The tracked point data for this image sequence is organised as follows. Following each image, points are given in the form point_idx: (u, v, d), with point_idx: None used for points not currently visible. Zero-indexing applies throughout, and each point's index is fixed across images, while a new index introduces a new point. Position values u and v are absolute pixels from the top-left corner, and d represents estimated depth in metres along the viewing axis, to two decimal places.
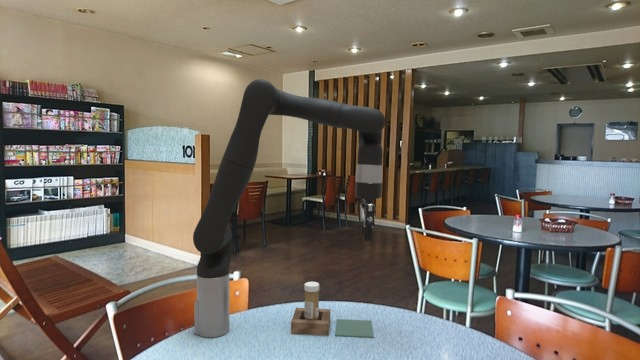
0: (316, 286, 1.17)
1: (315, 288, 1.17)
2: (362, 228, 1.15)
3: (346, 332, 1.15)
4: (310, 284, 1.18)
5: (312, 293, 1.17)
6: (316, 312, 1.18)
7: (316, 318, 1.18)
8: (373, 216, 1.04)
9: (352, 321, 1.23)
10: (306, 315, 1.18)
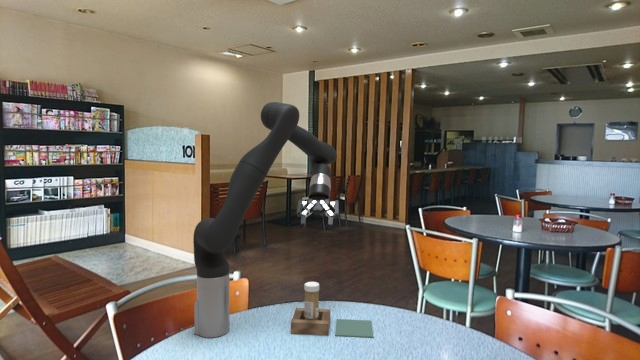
0: (316, 286, 1.17)
1: (315, 288, 1.17)
2: (305, 220, 1.31)
3: (346, 332, 1.15)
4: (310, 284, 1.18)
5: (312, 293, 1.17)
6: (316, 312, 1.18)
7: (316, 318, 1.18)
8: (338, 211, 1.35)
9: (352, 321, 1.23)
10: (306, 315, 1.18)
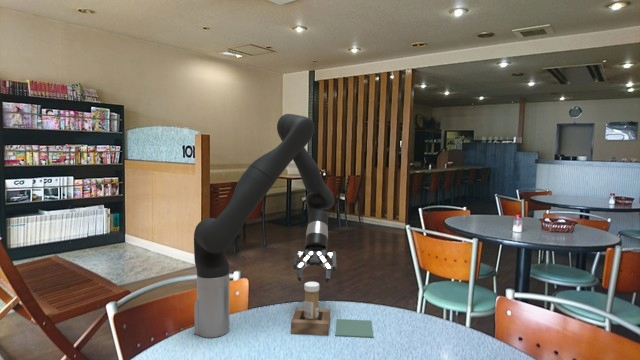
0: (316, 286, 1.17)
1: (315, 288, 1.17)
2: (301, 273, 1.25)
3: (346, 332, 1.15)
4: (310, 284, 1.18)
5: (312, 293, 1.17)
6: (316, 312, 1.18)
7: (316, 318, 1.18)
8: None
9: (352, 321, 1.23)
10: (306, 315, 1.18)
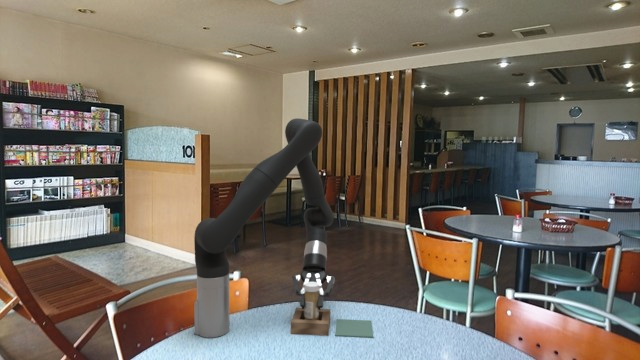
0: (316, 286, 1.17)
1: (315, 288, 1.17)
2: (304, 300, 1.18)
3: (346, 332, 1.15)
4: (310, 284, 1.18)
5: (312, 293, 1.17)
6: (316, 312, 1.18)
7: (316, 318, 1.18)
8: (331, 289, 1.22)
9: (352, 321, 1.23)
10: (306, 315, 1.18)
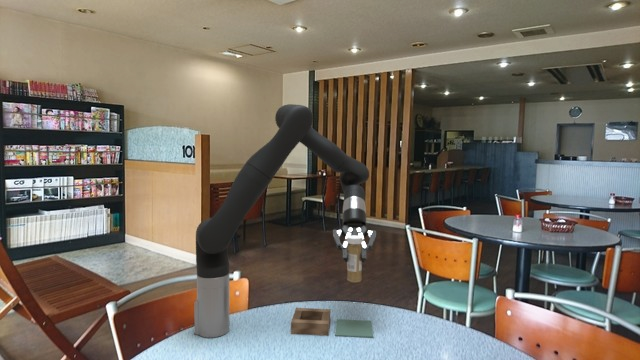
0: (359, 238, 1.16)
1: (359, 240, 1.15)
2: None
3: (346, 332, 1.15)
4: (353, 237, 1.16)
5: (356, 245, 1.15)
6: (359, 265, 1.16)
7: (359, 271, 1.16)
8: (373, 243, 1.20)
9: (352, 321, 1.23)
10: (349, 268, 1.16)
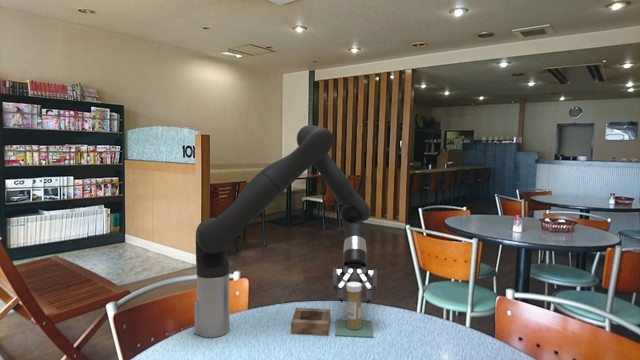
0: (359, 286, 1.16)
1: (358, 288, 1.16)
2: (342, 294, 1.17)
3: (346, 332, 1.15)
4: (352, 284, 1.17)
5: (355, 293, 1.16)
6: (359, 312, 1.17)
7: (359, 318, 1.17)
8: None
9: None
10: (349, 315, 1.17)
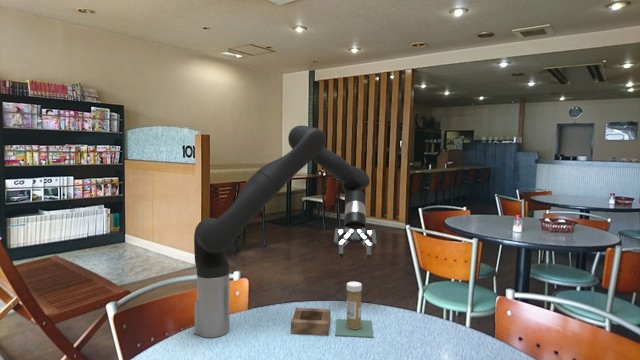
0: (359, 286, 1.16)
1: (358, 288, 1.16)
2: None
3: (346, 332, 1.15)
4: (353, 284, 1.17)
5: (355, 293, 1.16)
6: (359, 312, 1.17)
7: (359, 318, 1.17)
8: None
9: None
10: (349, 315, 1.17)
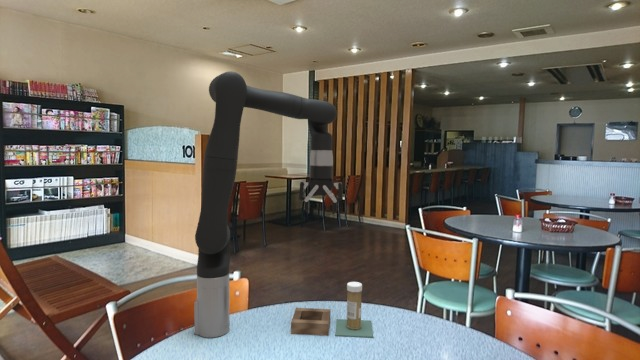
0: (359, 286, 1.16)
1: (359, 288, 1.16)
2: (308, 207, 1.29)
3: (346, 332, 1.15)
4: (353, 284, 1.17)
5: (356, 293, 1.16)
6: (359, 312, 1.17)
7: (359, 318, 1.17)
8: None
9: None
10: (349, 315, 1.17)
